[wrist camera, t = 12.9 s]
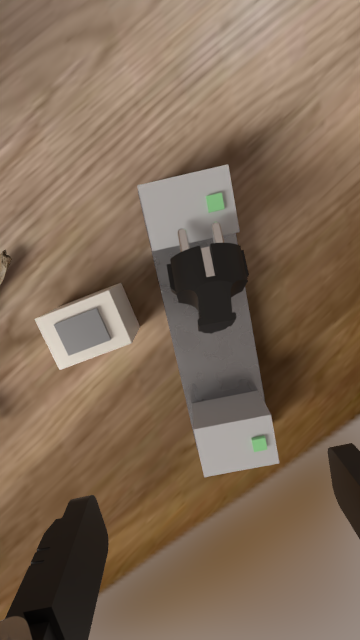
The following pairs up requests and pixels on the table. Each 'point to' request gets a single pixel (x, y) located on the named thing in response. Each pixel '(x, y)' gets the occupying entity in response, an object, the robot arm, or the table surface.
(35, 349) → the table surface
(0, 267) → the jawbone
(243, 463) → the mounted modules
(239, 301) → the rail base
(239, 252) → the power plug
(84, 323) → the block
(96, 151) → the table surface
